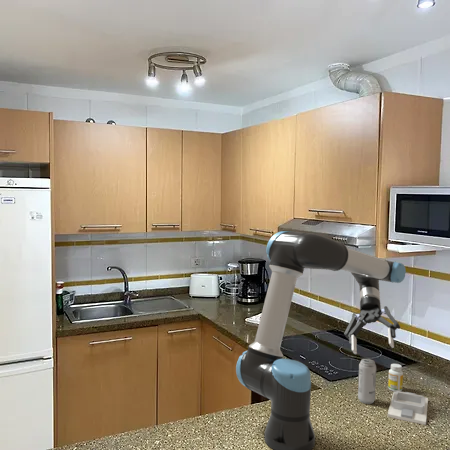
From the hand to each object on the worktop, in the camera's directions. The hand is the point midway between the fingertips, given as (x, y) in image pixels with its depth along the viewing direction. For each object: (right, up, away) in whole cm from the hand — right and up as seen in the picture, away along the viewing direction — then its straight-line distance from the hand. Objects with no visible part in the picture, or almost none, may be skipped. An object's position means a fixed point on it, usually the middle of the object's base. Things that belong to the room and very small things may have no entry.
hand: (372, 349), depth 157 cm
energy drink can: (0, -21, +7) cm, 22 cm away
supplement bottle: (+15, -21, +18) cm, 32 cm away
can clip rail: (+13, -22, +1) cm, 26 cm away
